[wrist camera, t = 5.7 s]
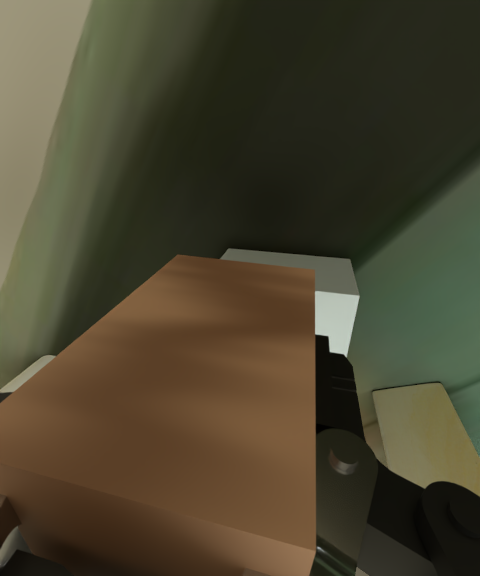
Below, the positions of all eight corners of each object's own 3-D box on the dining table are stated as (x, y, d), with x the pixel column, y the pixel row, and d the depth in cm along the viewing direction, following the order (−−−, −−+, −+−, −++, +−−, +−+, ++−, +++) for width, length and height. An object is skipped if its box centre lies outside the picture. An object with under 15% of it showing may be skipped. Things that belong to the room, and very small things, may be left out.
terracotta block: (315, 269, 10) (316, 551, 3) (297, 380, 12) (277, 687, 5) (178, 254, 11) (-54, 447, 4) (185, 360, 13) (43, 600, 6)
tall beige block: (462, 436, 32) (659, 845, 13) (387, 441, 34) (466, 787, 16) (450, 379, 29) (675, 790, 11) (370, 389, 32) (441, 732, 13)
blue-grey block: (350, 259, 26) (359, 295, 20) (331, 358, 31) (334, 411, 25) (228, 248, 28) (203, 278, 22) (229, 342, 33) (209, 388, 27)
